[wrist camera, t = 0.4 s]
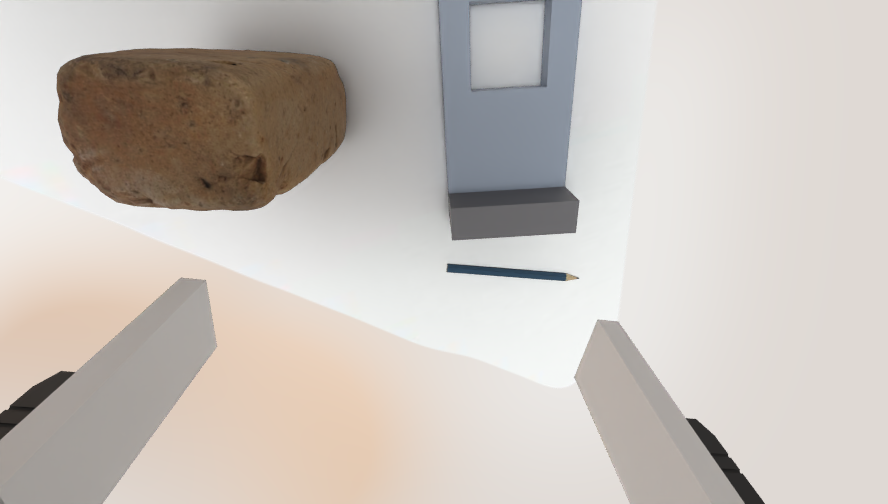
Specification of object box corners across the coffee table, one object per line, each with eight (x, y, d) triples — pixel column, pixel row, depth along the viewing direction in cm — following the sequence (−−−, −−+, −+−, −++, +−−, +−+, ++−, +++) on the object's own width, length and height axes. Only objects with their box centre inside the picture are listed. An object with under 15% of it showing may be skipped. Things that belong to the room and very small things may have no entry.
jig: (435, -53, 29) (436, -77, 24) (578, -61, 29) (611, -88, 24) (449, 215, 39) (452, 240, 34) (556, 208, 39) (575, 232, 34)
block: (352, 58, 33) (257, 60, 15) (352, 147, 36) (275, 236, 18) (220, 43, 32) (-48, 26, 14) (233, 135, 35) (30, 216, 17)
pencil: (447, 262, 42) (579, 272, 43) (446, 269, 43) (576, 279, 44) (447, 266, 41) (581, 276, 43) (446, 273, 42) (579, 284, 43)
